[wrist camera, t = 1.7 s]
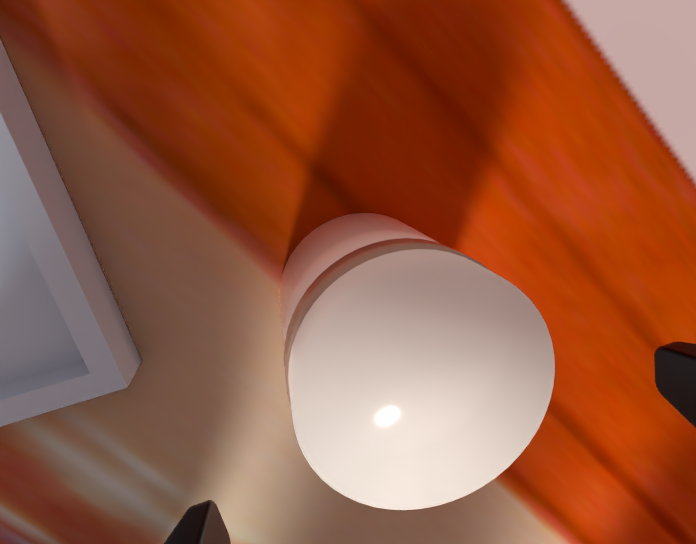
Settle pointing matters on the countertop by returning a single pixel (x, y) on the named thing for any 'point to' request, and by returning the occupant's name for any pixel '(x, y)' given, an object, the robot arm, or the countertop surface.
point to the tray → (49, 281)
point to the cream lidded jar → (408, 363)
